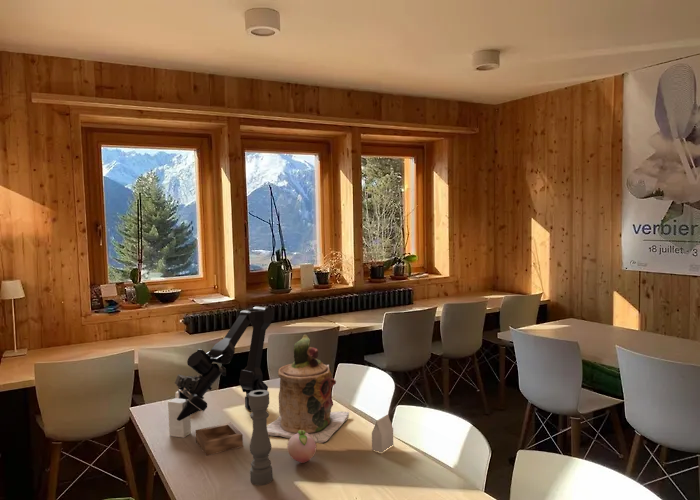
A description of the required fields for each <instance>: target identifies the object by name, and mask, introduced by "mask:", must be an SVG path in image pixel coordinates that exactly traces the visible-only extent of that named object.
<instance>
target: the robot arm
mask: <svg viewBox="0 0 700 500" xmlns="http://www.w3.org/2000/svg"><path fill="white" fill-rule="evenodd" d="M273 316H274V311H273V310H272V308H271V307H269V306H259V305H256V306H254V307H253V308H247V309H246V310H245V309H243V310H240V312H239V314H238V317H237V318H236V320H235V321H234V323H232V325H231V327H230V329H229V330H228V332H227V333H226V335H225V336H224V337H223V338H222V339H221V340H220V341H218V342H217V343H215V344H214V345H213V346H212V347H211V349H210V350H209V351H208V352H205V350H203V349H201V348H198V349H197V351H195V352H193V353H192V354H191V355H189V357H188V358H187V362H186V363H187V366H188V367H190V368H191V370H194V371H195V372H197V374H198V375H197V374H196V375H194V376H193V377H194V378H191V377H188V376H189V375H188V376H186V375H182V374H177V376H176V379H175V381H174V384H175V385H176V387H177V388H178V389H177V391H178V393H179V399H186V405H185V407H184V408H183V410H182V411H181V413H180V414H179V416H178V418H177V420H178V421H180V420H182V419H184V418H186V417H188V416H190V417H191V416H192V415H194V414H196V413H198V412H201V411H202V412H204V411H206V409H207V408H208V402H207V401H206V400H205V397H204V396H205V395H206V393H207V392H208V391H212V389H213V387H212V386H213V385H214V383H215V382H216V381H217V380H218V378H220V376H221V375H222V376H224V377H226V376H227V369H226V367H224V366H223V365H228V364H230V362H231V361H232V359H233V357H234V354H236V353H235V352H236V351H235V350H236V345H237V343H239V340H240V339H241V338H242V336H243V335H244V333H245V332H246V330H247V329H248V326H249V325H250V324H251V326H252V332H251V333H252V334H251V340H250V345H249V353H248V360H247V364H246V366H245V368H244V369H241V370H240V372H239V373H240V375H239V379H238V381H239V386H240V388H241V390H242V393H245V396H244V407H245V408H246V409H247V410H248V411H249V412H252V410H251V409H250V406H249V393H250V392H251V391H255V390H267V391H269V390H268V388H269V386H268V385H267V384H266V383H265V382H264V381H263V378H264V374H263V372H262V369H261V365H262V364H261V363H262V358H263V351H264V346H265V345H264V344H265V337H266V332H267V330H268V328H269V327H270V325H271V324H272V320H273ZM220 364H221V365H222V366H221V365H220ZM179 390H180V391H179ZM187 399H188V400H187Z"/></svg>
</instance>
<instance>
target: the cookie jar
mask: <svg viewBox="0 0 700 500" xmlns="http://www.w3.org/2000/svg"><path fill="white" fill-rule="evenodd" d="M318 358H319V349H318V348H316V347H313V346H311V339H310V338H309V336H308V335H307V334H303V335H302V338H300V340H298V341H296V342H295V343H294V345H293V359H294V361H293V363H292V362H291V363H289V364H285V365H282V366H280V367H279V368H278V371H277V372H278V373H277V374H278V378H280V380H279V391H278V414H279V416H278V417H277V418H276V419H275V420H274V421H272V422H270V423H269V424H267V431H268V435H269V437H270V436H271V437H282V438H285V439H290V438H291V437H292V436H293V435H295V434H297V433H298V431H299V430H304V431H305V432H306V433H308V434H309V435H310V436H311V437H312V438H313V440H314V441H315V443H321V444H324V443H326V442H327V441H329V439H330V438H331V437H332V436H333V434H334V433H335V432H337V431H339V429H340V427H342V425H343V424H344V423H345V422H346V421H347V420H348V419H349V416H350V411H332V407H333V406H334V402H333V399H332V398H333V397H332V387H334V386H335V385H336V383H337V381H336V379H334V378H333V374H332V368H331V366H330V364H324V362H322V361H321V360H320V359H318Z"/></svg>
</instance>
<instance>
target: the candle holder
mask: <svg viewBox="0 0 700 500" xmlns="http://www.w3.org/2000/svg"><path fill="white" fill-rule="evenodd" d="M269 405H270V391H269V390H255V391H251V392H250V393H249V406H250V409H251V410H252V411H251V413H250V414H249V416H250V419H252V432H251V433H252V434H251V438H250V443H249V451H250V454H251V456H252V459H253V460H252V461H251V463H250V466H251V467H250V469H249V474H250V475H249V476H250V483H251V484H253V485H255V486H263V485H267V484H270V483H271V482H272V481H273V475H274V474H273V466H272V461H271V459H270V458H269V455H270V453H271V450H272V443H271V439H270V435H268V431H267V426H268V424H267V423H268V422H267V419H268V417H269V416H270V414H269V412H268V411H267V410H268V409H269Z"/></svg>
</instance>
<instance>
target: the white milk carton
mask: <svg viewBox="0 0 700 500" xmlns="http://www.w3.org/2000/svg"><path fill="white" fill-rule="evenodd" d="M392 445H393V446H394V427H393V424H392V422H391V420H390V416H389V414H386V415H384V416H382V417H381V418H379V419H378V420H375V424H374V426H373V428H372V432H371V451H372V450H375V451H379V452H383V451H384V450H386V449H387V448H389V447H390V446H392Z"/></svg>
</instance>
